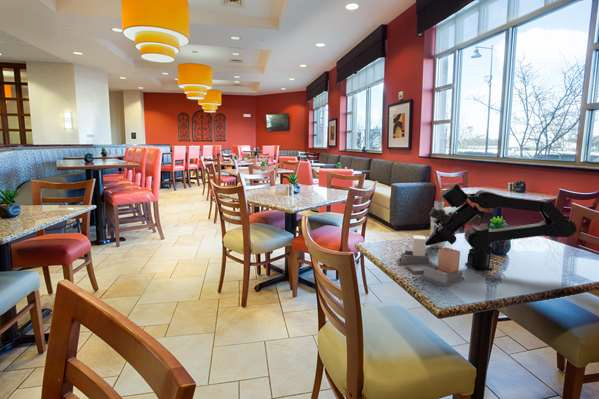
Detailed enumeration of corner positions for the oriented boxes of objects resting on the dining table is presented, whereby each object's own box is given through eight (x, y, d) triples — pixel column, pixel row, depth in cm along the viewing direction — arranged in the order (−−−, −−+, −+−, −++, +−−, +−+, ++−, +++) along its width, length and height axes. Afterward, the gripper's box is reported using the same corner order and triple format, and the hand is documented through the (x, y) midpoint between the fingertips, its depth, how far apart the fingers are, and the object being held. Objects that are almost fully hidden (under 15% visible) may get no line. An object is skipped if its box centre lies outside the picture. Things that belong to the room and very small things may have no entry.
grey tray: (423, 255, 135) (424, 246, 134) (473, 285, 106) (474, 272, 105) (391, 257, 133) (392, 247, 132) (433, 287, 104) (434, 275, 103)
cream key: (423, 256, 129) (424, 236, 128) (424, 260, 125) (425, 239, 123) (412, 255, 130) (413, 235, 129) (412, 259, 126) (414, 238, 124)
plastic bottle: (434, 251, 141) (438, 203, 138) (424, 246, 148) (427, 200, 145) (448, 249, 143) (451, 202, 140) (437, 245, 149) (440, 200, 147)
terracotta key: (444, 270, 115) (445, 247, 113) (458, 275, 111) (460, 251, 109) (436, 273, 112) (438, 249, 111) (451, 277, 108) (452, 253, 107)
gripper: (441, 196, 131) (409, 223, 136) (448, 204, 113) (411, 234, 118) (462, 218, 130) (429, 244, 135) (472, 229, 112) (434, 258, 117)
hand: (425, 244), depth 126 cm, fingers closed, pressing on cream key
